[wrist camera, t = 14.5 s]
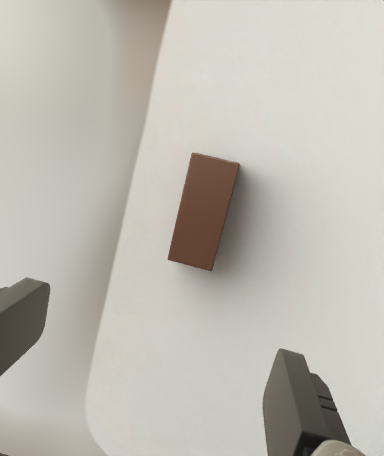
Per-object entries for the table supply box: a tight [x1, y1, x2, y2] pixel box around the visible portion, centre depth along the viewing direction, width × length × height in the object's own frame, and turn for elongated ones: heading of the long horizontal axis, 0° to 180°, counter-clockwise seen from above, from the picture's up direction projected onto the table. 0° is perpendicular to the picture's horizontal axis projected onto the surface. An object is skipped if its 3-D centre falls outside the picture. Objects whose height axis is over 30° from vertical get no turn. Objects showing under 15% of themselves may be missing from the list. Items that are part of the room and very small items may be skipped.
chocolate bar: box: [168, 153, 240, 271], centre depth 25 cm, size 3×8×3 cm, turn 167°
